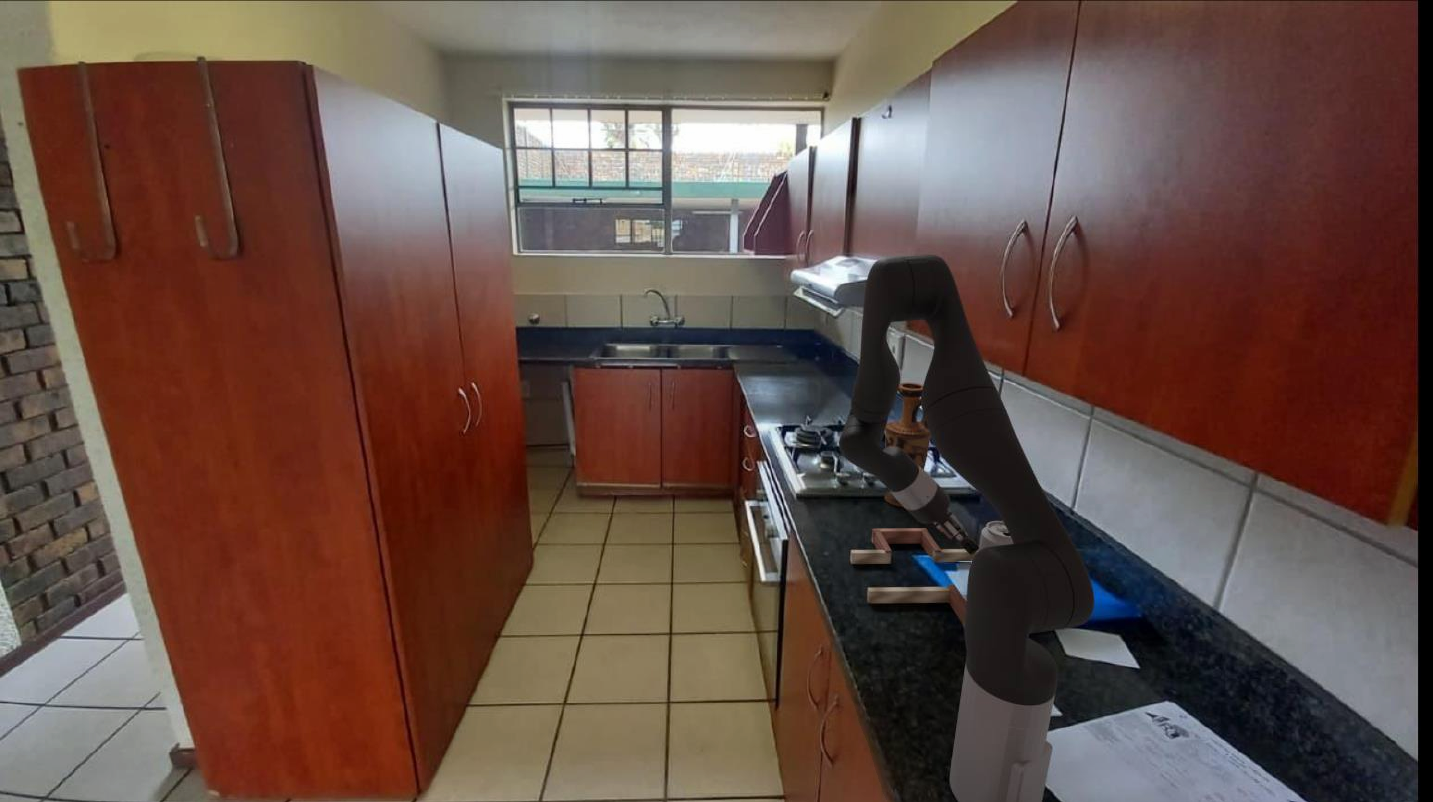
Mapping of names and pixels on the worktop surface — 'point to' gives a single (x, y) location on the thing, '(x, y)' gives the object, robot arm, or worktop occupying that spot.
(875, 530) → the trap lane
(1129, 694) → the worktop surface
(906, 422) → the vase
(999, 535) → the can
